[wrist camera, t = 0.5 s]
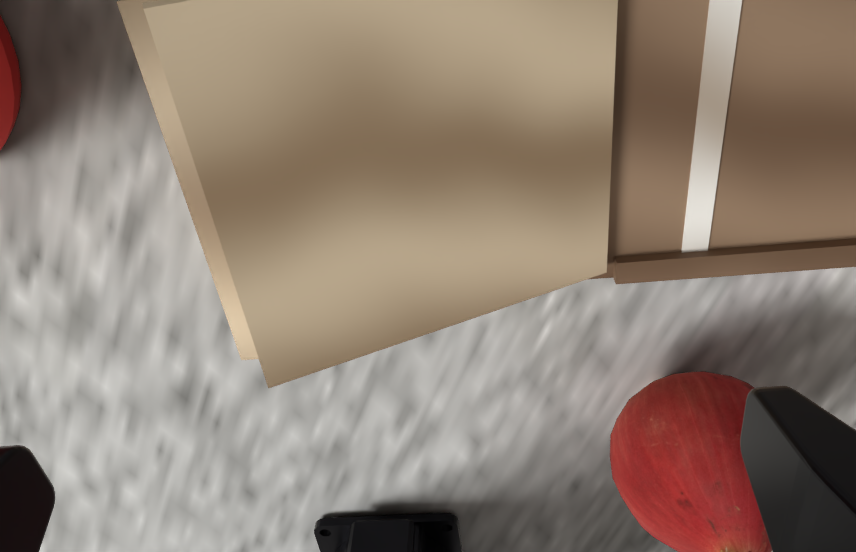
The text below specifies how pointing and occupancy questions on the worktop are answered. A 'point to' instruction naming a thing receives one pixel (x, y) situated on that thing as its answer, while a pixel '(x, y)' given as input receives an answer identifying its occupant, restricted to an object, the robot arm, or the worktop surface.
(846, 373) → the worktop surface
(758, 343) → the worktop surface
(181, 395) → the worktop surface
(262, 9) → the ramp
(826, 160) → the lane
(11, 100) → the canned food
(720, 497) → the onion
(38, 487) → the robot arm
